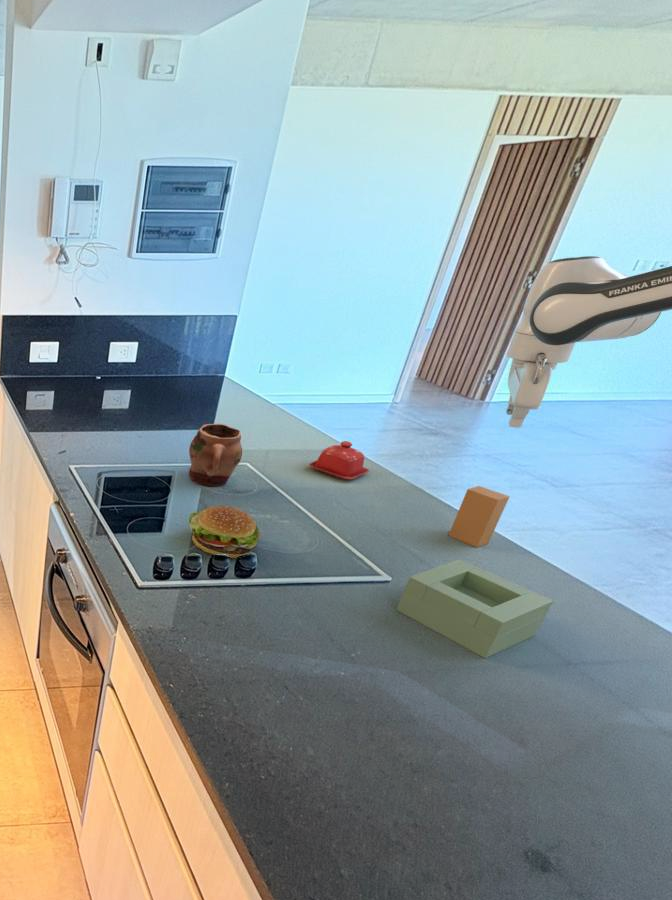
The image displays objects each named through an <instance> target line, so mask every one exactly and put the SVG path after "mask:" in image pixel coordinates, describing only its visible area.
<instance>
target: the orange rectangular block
mask: <svg viewBox="0 0 672 900" xmlns="http://www.w3.org/2000/svg"><path fill="white" fill-rule="evenodd" d="M509 499H510V495H506V494H505V493H501V492H498V491H496V490H492V489H489V488H487V487H484V486H481V485H477V486H474V487H471V488H467V489H466V492H465V494H464V497H463V499H462V501H461V504H460V506H459V508H458V510H457V513H456V516H455V518H454V521H453V522H452V526H451V528H450V531H449V533H448V536H449V537H451V538H453V539H456V540H458V541H460V542H463V543H466V544H468V545H469V546H472V547H475V548H480V547H482V546H485V545H488V544H489V543H490V542H491V541H490V540H491V538H492V537H493V534H494V532H495V530H496V527H497V525H498V523H499V521H500V519H501V517H502V514H503V512H504V510H505V508H506V505H507V503H508V501H509Z"/></svg>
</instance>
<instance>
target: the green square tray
mask: <svg viewBox="0 0 672 900" xmlns="http://www.w3.org/2000/svg"><path fill="white" fill-rule="evenodd" d="M553 603H554V600H553V599H551V598H549V597H546V596H544V595H542V594H540V593H537V592H534V591H533V590H530V589H528V588H526V587H524V586H521V585H519V584H518V583H517V584H516V583H515V582H512V581H510V580H508V579H505V578H503V577H501V576H499V575H496V574H494V573H492V572H490V571H487V570H485V569H483V568H480V567H478V566H476V565H475V564H471V563H470V562H467V561H465V560H463V559H460V558H458V559H456V560H453V561H450V562H447V563H444V564H442V565H439V566H436V567H433V568H429V569H427V570H425V571H422V572H419V573H416V574H413V575H410V576H409V577H408V579H407V582H406V584H405V587H404V589H403V592H402V595H401V597H400V599H399V602H398V604H397V607H396V611H397V612H399V613H401V614H403V615H404V616H406V617H409V618H411V619H412V620H413V621H416V622H418V623H419V624H421V625H423V626H425V627H426V628H428V629H430V630H432V631H434V632H435V633H437V634H439V635H441V636H443V637H445V638H446V639H448V640H450V641H452V642H454V643H456V644H458V645H460V646H461V647H463V648H465V649H466V650H469V651H470V652H472V653H474V654H475V655H478V656H479V657H481V658H483V659H487V658H489V657H491V656H493V655H495V654H498V653H501V652H502V651H504V650H507V649H509V648H511V647H513V646H515V645H517V644H519V643H522V642H524V641H526V640H528V639H531V638H533V637H535V636H536V635H537V633H538V632H539V629H540V627H541V625H542V624H543V622H544V620H545V618H546V616H547V614H548V613H549V611H550V608H551V607H552V605H553Z"/></svg>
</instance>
